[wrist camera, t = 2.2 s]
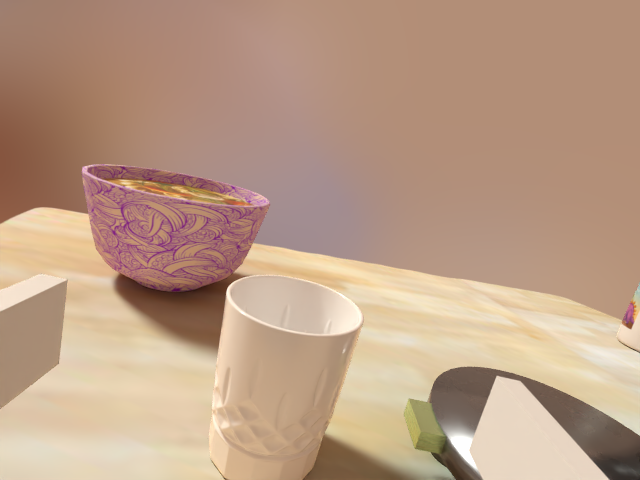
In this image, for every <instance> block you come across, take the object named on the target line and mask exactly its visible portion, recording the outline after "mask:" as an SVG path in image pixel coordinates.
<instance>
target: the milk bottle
mask: <svg viewBox="0 0 640 480" xmlns="http://www.w3.org/2000/svg"><path fill="white" fill-rule="evenodd" d="M617 339H618V340H619V341H620V342H622V343H623V344H625V345H627V346H628V347H630V348H632V349H635V350H637V351H639V352H640V283H639V285H638V287H637V289H636V292H635V294H634V296H633V298H632V300H631V303H630V305H629V307H628V309H627V311H626V314H625V316H624V318H623V321H622V323H621V325H620V327H619V330H618V332H617Z"/></svg>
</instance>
